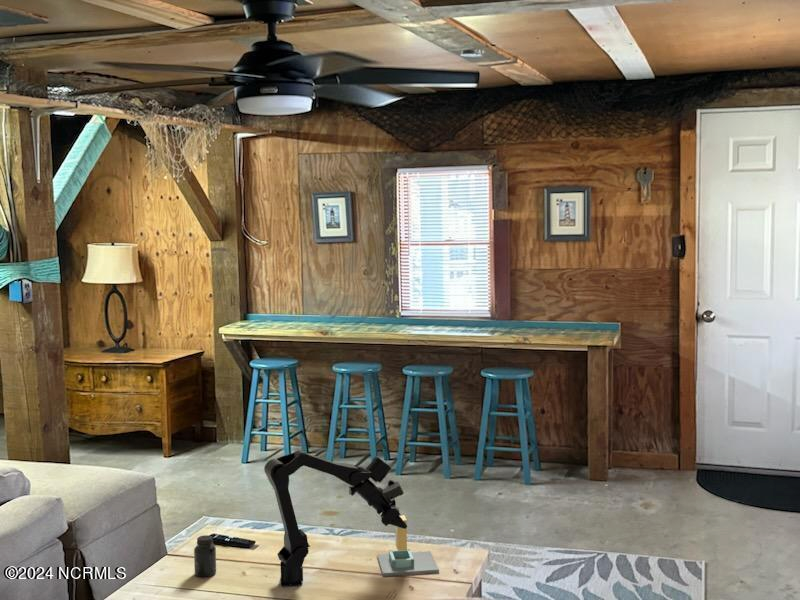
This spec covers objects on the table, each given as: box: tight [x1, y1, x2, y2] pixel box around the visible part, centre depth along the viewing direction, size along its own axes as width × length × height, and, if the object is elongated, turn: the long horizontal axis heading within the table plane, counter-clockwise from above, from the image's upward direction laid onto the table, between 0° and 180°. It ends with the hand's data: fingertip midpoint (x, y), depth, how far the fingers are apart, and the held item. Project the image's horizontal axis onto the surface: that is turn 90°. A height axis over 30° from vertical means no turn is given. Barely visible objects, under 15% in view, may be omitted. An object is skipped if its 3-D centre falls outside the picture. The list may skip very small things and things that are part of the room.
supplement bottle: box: [193, 534, 217, 579], centre depth 286 cm, size 7×7×12 cm
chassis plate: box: [376, 548, 440, 577], centre depth 293 cm, size 18×16×4 cm
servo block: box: [394, 514, 408, 551], centre depth 291 cm, size 3×5×10 cm, turn 8°
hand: (405, 524), depth 291 cm, fingers closed on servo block, 5 cm apart
